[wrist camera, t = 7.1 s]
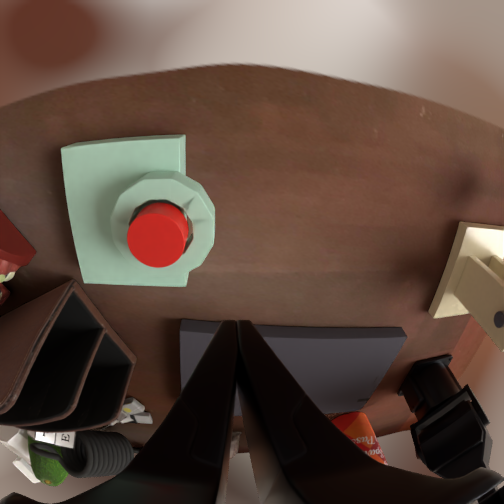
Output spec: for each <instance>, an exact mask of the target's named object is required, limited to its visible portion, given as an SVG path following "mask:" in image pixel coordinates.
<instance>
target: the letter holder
mask: <svg viewBox="0 0 504 504" xmlns="http://www.w3.org/2000/svg"><path fill="white" fill-rule="evenodd" d="M136 361H137V357H136V356H135V355H134V354H133V353H132V352H131V350H130V349H129V348H128V347H127V346H126V345H125V343H124V342H123V341H122V340H121V339H120V337H119V336H118V335H117V334H116V333H115V331H114V330H113V329H112V328H111V326H110V325H109V324H108V323H107V321H106V320H105V319H104V318H103V316H102V315H101V314H100V312H99V311H98V310H97V308H96V307H95V306H94V304H93V303H92V301H91V300H90V299H89V298H88V296H87V295H86V293H85V292H84V291H83V290H82V288H81V287H80V285H79V284H78V282H77V281H76V280H74V279H72V280H70V281H68V282H66V283H64V284H63V285H61V286H59V287H57V288H55V289H53V290H51V291H49V292H47V293H46V294H43V295H42V296H40V297H38V298H36V299H34V300H32V301H30V302H28V303H26V304H24V305H22V306H20V307H18V308H16V309H14V310H12V311H10V312H9V313H7V314H5V315H3V316H1V317H0V425H3V426H13V427H16V428H19V429H24V430H28V431H34V432H45V433H64V432H75V431H83V430H89V429H93V428H98V427H102V426H105V425H107V424H110V423H112V422H114V421H115V420H116V419H117V418H118V417H119V415H120V413H121V410H122V407H123V403H124V400H125V396H126V393H127V389H128V386H129V383H130V379H131V376H132V372H133V369H134V366H135V364H136Z"/></svg>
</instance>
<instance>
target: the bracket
mask: <svg viewBox="0 0 504 504" xmlns="http://www.w3.org/2000/svg"><path fill="white" fill-rule="evenodd" d="M503 259H504V226H496V225H488V224H479V223H470V222H461V221H460V222H459V226H458V229H457V233H456V236H455V240H454V243H453V246H452V249H451V252H450V255H449V258H448V261H447V264H446V267H445V270H444V273H443V275H442V278H441V281H440V283H439V286H438V289H437V291H436V294H435V296H434V299H433V301H432V303H431V306H430V308H429V311H428V312H429V314H430V315H431V316H432V317H433V318H441V317H448V316H455V315H461V314H467V313H470V314H471V315H472V316H473V317H474V318H475V320H476V321H477V322H478V323H479V324H480V326H481V327H482V328H483V329H484V331H485V332H486V333H487V334H488V336H489V337H490V338H491V339H492V341H493V342H494V343H495V344H496V345H497V347H498V348H499V350H500V351H501V352H504V261H503Z"/></svg>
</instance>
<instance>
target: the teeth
mask: <svg viewBox="0 0 504 504" xmlns="http://www.w3.org/2000/svg"><path fill="white" fill-rule="evenodd" d="M35 254H36V250H35V249H34V248H33V247H32V246H31V245H30V244H29V243H28V241H27V240H26V239H25V238H24V237H23V236H22V235H21V233H20V232H19V231H18V230H17V229H16V228H15V226H14V225H13V224H12V223H11V222H10V220H9V219H8V218H7V217H6V216H5V214H4V213H3V212H2V211H1V210H0V306H1V305H2V304H3V303H4V302H5V301H6V300H7V299H8V297H9V296H10V292H9V290H8V289H7V288H6V287H5V286H4V285H3V284H2V283H1V282H3V281H9V280H10V279H12V278H13V277H14V274H15V271H17V270H18V269H19V267H21V266H26V265H28V263H29V262H30V261H31V259H32V258H33V256H34V255H35Z"/></svg>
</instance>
